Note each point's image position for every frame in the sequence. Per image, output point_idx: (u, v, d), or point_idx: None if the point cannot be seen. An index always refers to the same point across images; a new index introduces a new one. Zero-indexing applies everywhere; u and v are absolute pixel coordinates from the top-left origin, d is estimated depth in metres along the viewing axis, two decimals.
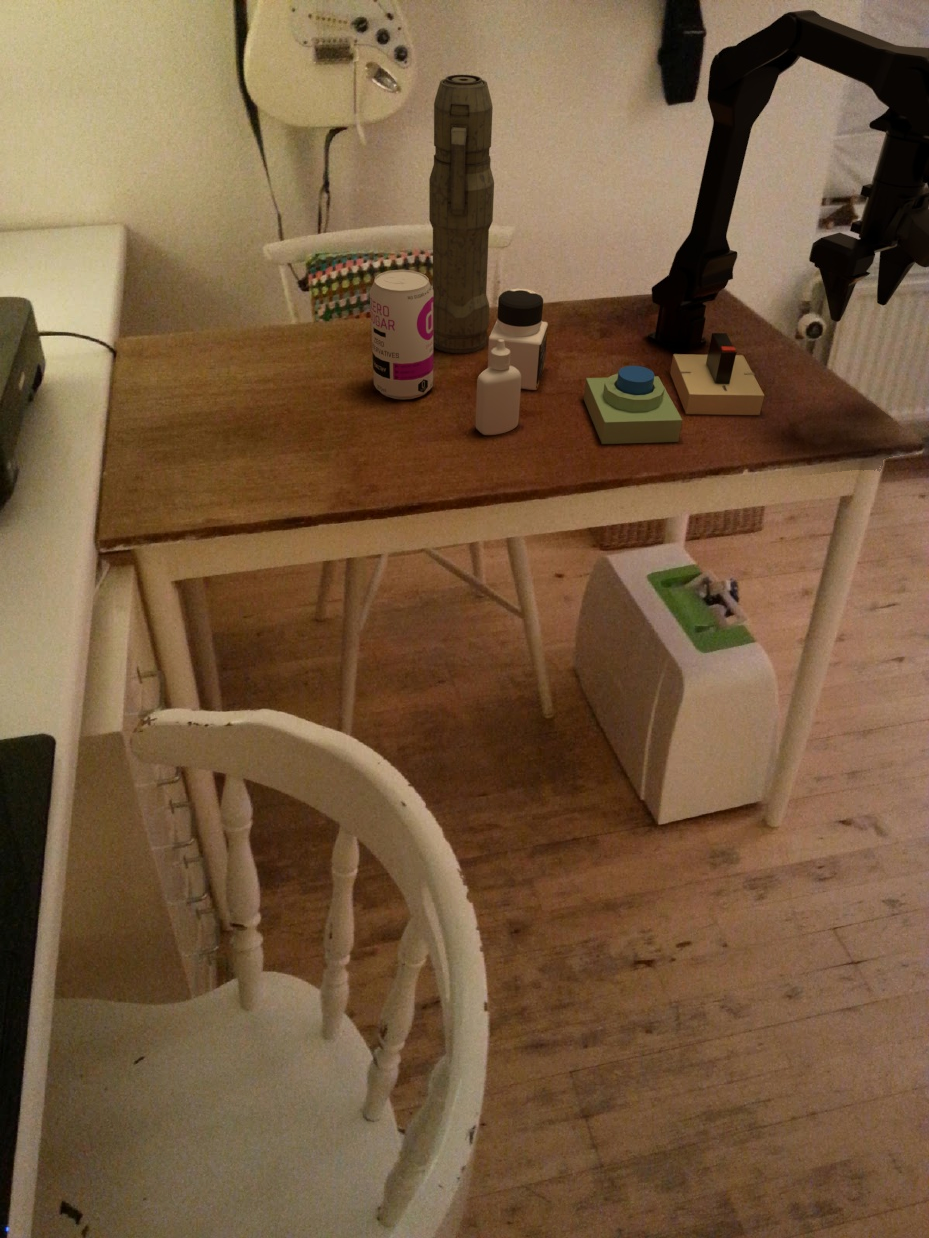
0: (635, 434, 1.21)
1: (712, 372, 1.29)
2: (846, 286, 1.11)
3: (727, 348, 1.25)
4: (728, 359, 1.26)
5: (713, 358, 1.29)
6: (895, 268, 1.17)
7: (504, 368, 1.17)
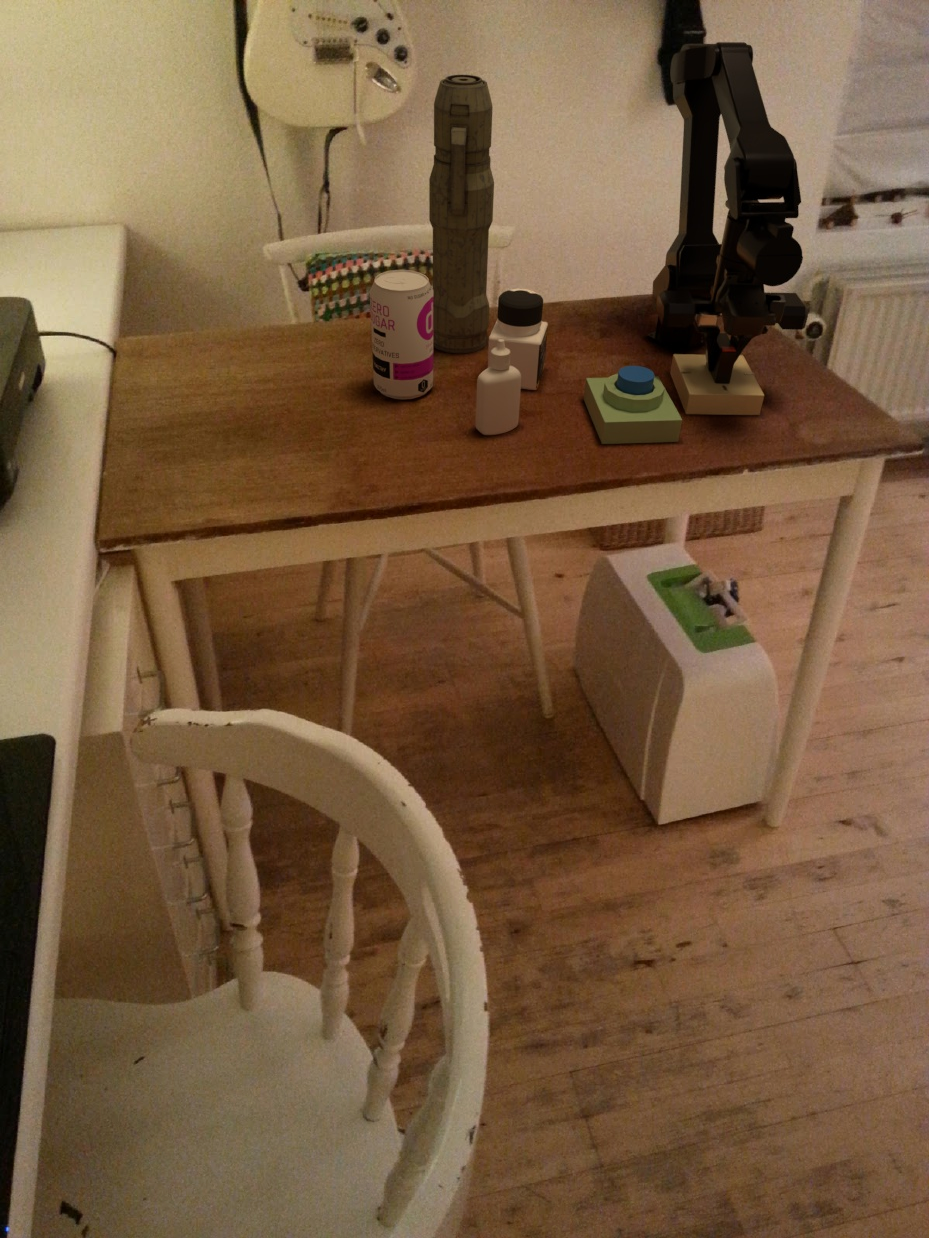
0: (635, 434, 1.21)
1: (712, 372, 1.29)
2: (705, 338, 1.26)
3: (727, 348, 1.25)
4: (728, 359, 1.26)
5: None
6: (735, 339, 1.27)
7: (504, 368, 1.17)
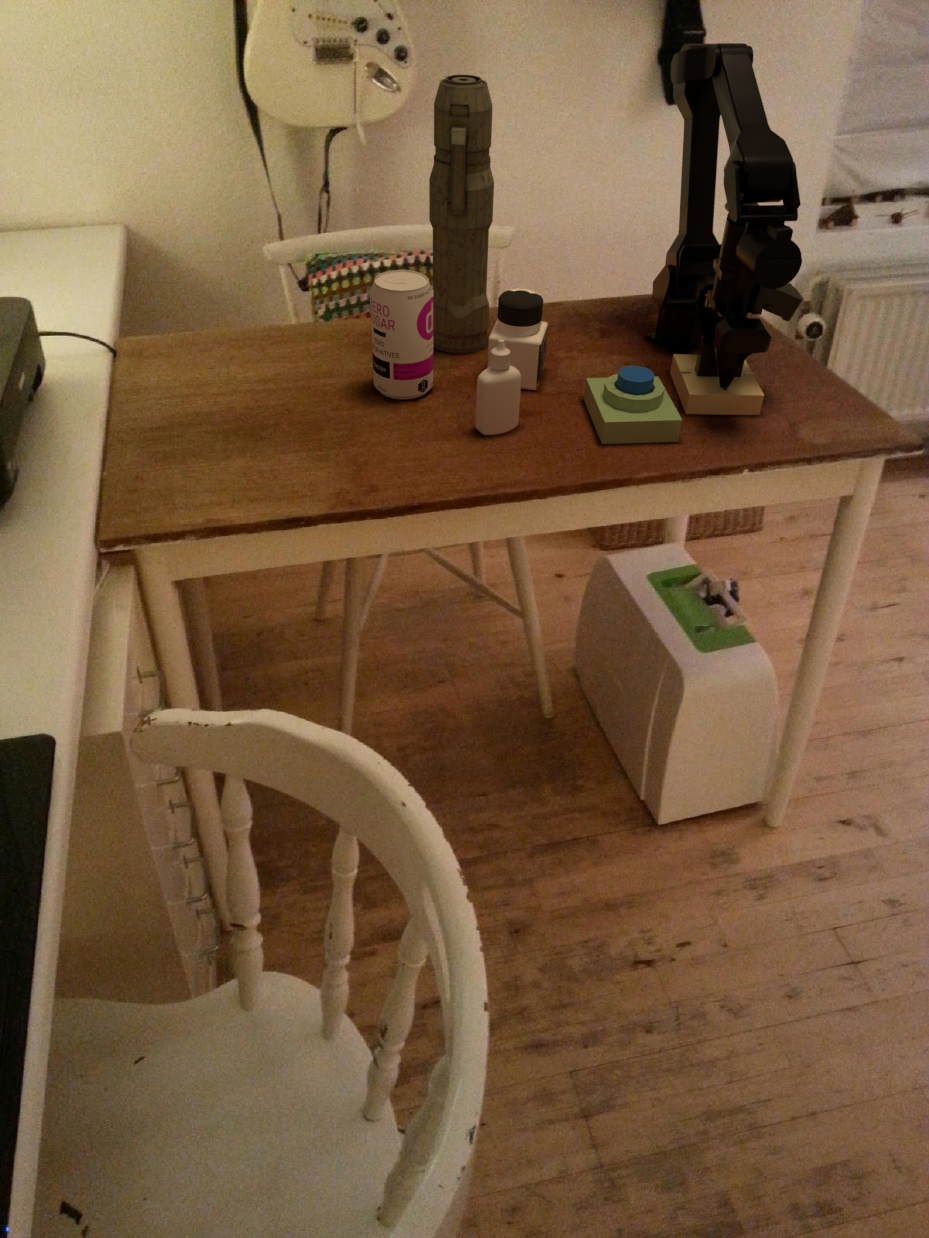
0: (635, 434, 1.21)
1: None
2: (744, 358, 1.22)
3: None
4: None
5: None
6: None
7: (504, 368, 1.17)
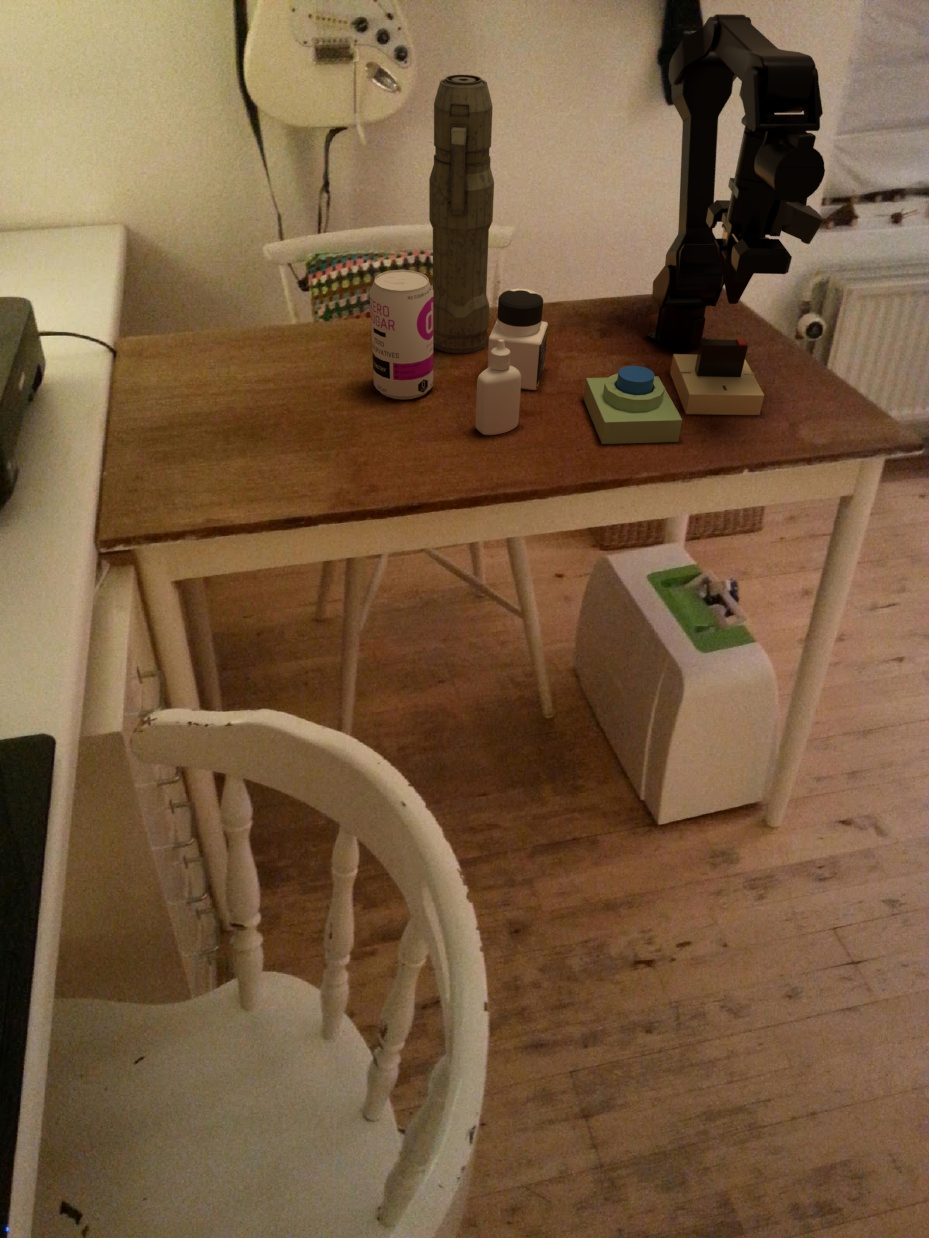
0: (635, 434, 1.21)
1: (726, 373, 1.29)
2: None
3: (742, 341, 1.27)
4: None
5: (722, 361, 1.28)
6: None
7: (504, 368, 1.17)
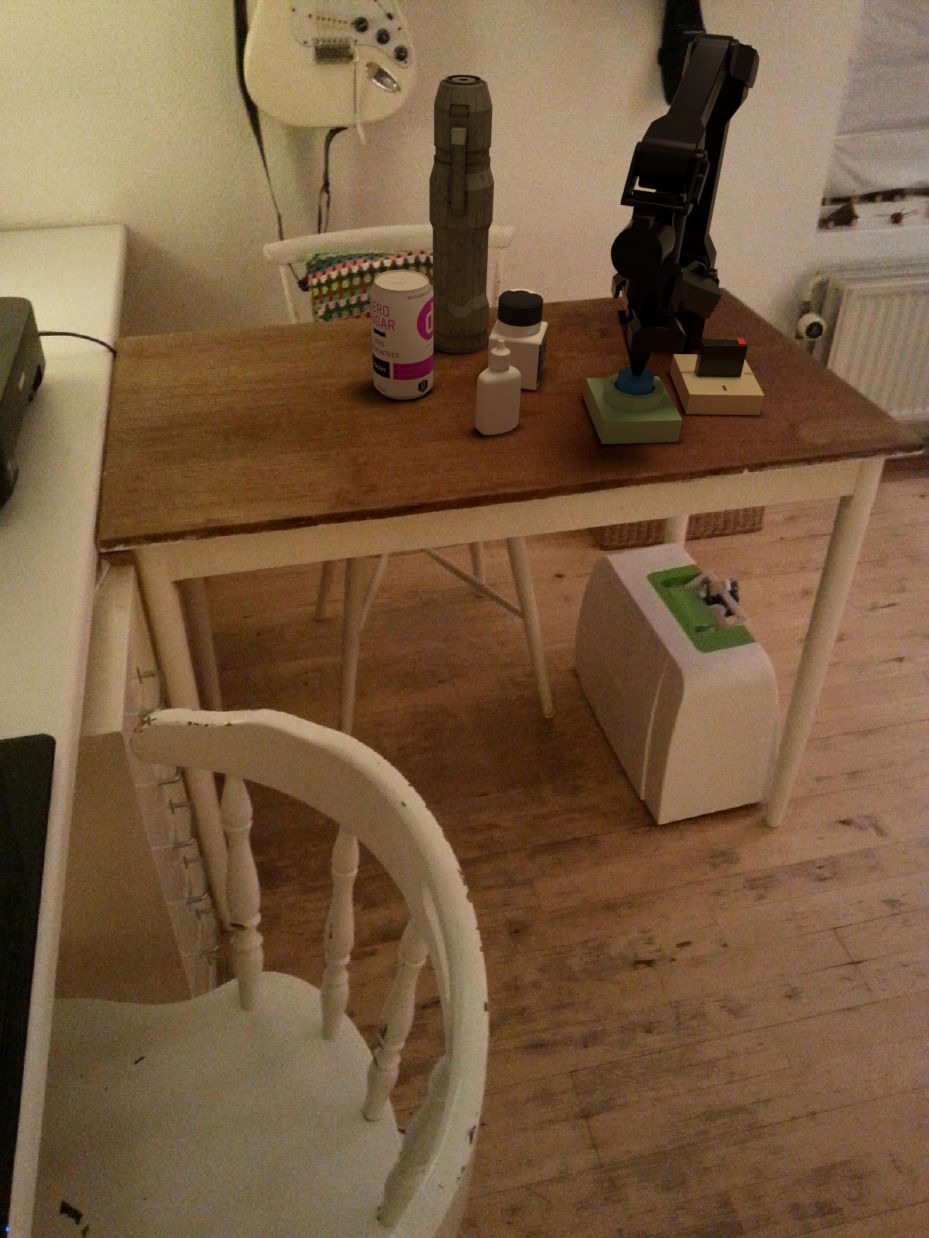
0: (635, 434, 1.21)
1: (726, 373, 1.29)
2: None
3: (742, 341, 1.27)
4: None
5: (722, 361, 1.28)
6: None
7: (504, 368, 1.17)
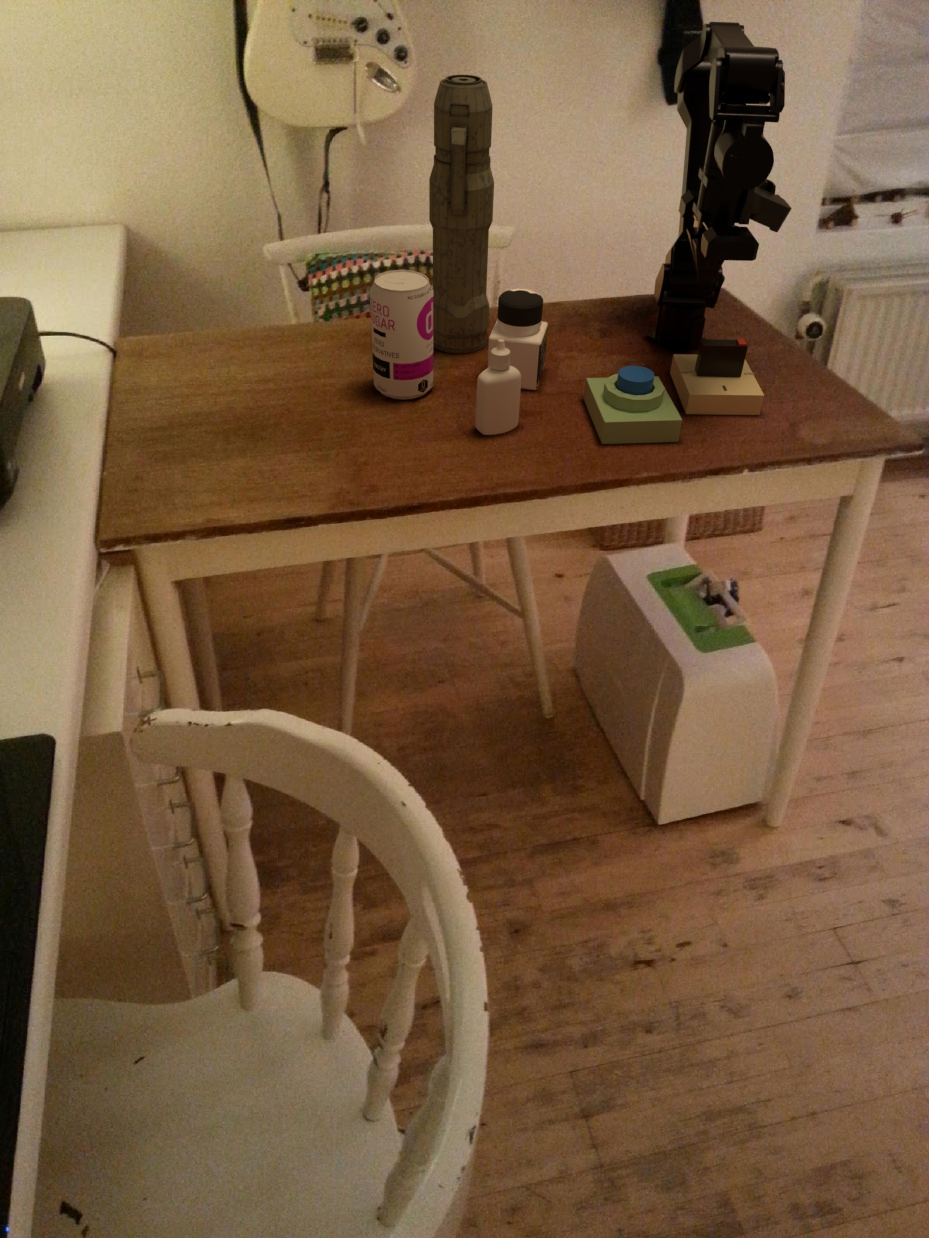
0: (635, 434, 1.21)
1: (726, 373, 1.29)
2: None
3: (742, 341, 1.27)
4: None
5: (722, 361, 1.28)
6: None
7: (504, 368, 1.17)
